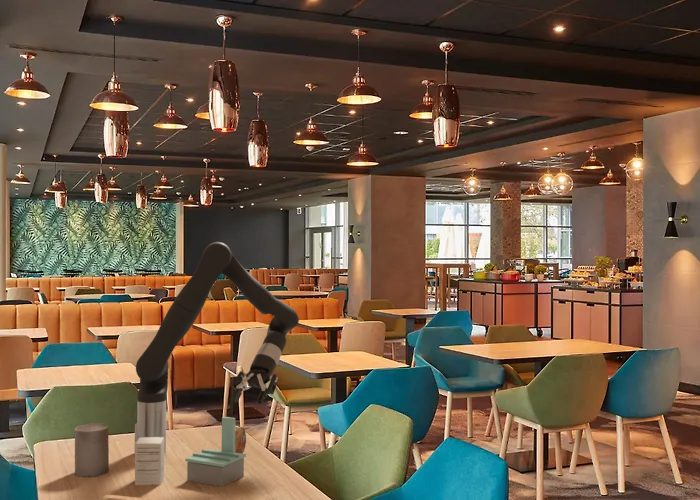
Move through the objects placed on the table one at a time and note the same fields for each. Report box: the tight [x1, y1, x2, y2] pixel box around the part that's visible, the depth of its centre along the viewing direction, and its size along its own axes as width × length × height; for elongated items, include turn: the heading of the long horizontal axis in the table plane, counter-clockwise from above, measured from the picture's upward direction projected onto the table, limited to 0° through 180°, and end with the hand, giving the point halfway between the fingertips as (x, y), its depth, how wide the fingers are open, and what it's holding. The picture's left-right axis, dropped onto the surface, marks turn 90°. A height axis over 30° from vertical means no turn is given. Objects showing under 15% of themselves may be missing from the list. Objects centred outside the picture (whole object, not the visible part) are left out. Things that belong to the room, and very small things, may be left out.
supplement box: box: [134, 437, 165, 486], centre depth 219 cm, size 7×7×13 cm
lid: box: [185, 416, 247, 467], centre depth 223 cm, size 13×13×11 cm
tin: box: [234, 426, 247, 454], centre depth 251 cm, size 15×3×8 cm, turn 168°
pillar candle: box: [74, 422, 110, 477], centre depth 230 cm, size 10×10×15 cm
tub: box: [186, 458, 245, 487], centre depth 223 cm, size 12×11×6 cm
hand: (246, 402), depth 237 cm, fingers open, 8 cm apart
